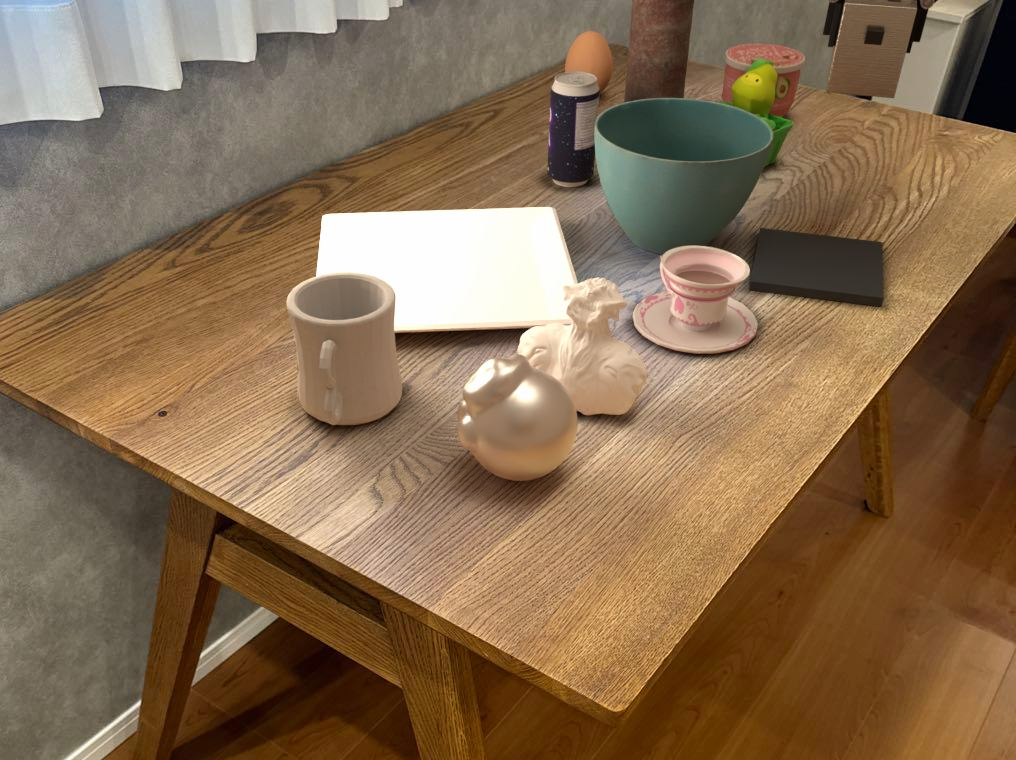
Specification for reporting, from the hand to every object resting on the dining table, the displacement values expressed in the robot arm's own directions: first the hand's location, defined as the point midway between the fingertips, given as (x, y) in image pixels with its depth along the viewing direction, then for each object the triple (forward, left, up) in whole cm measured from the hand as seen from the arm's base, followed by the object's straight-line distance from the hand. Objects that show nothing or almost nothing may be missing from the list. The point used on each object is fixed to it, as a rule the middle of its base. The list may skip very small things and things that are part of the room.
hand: (868, 44), depth 101 cm
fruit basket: (+12, -19, -20) cm, 30 cm away
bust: (+20, +40, -20) cm, 48 cm away
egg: (+35, -36, -20) cm, 54 cm away
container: (+11, -35, -20) cm, 42 cm away
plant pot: (+17, +7, -20) cm, 27 cm away
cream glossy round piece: (+23, +52, -20) cm, 60 cm away
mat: (+1, +10, -20) cm, 22 cm away
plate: (+38, +23, -20) cm, 48 cm away
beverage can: (+31, -6, -20) cm, 37 cm away
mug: (+39, +48, -20) cm, 64 cm away
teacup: (+12, +25, -20) cm, 34 cm away
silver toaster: (0, 0, -3) cm, 3 cm away
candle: (+23, -16, -20) cm, 34 cm away
